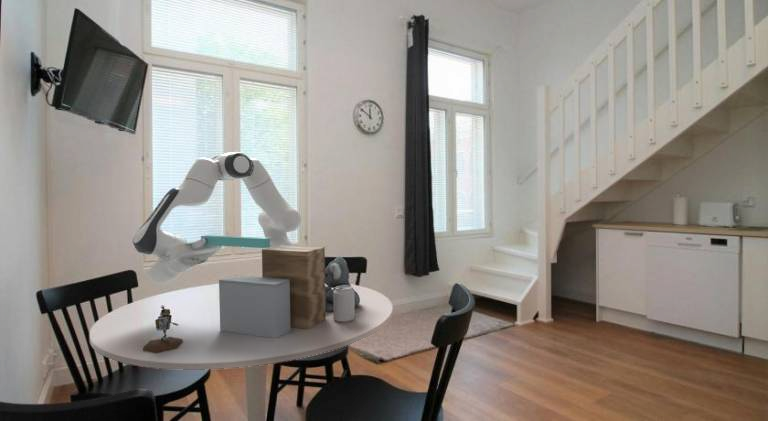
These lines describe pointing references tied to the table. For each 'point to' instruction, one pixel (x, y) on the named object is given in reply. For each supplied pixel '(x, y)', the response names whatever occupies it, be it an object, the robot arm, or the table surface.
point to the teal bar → (237, 241)
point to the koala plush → (336, 281)
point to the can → (344, 303)
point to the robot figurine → (164, 342)
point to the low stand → (255, 305)
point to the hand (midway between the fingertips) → (210, 239)
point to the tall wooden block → (299, 280)
